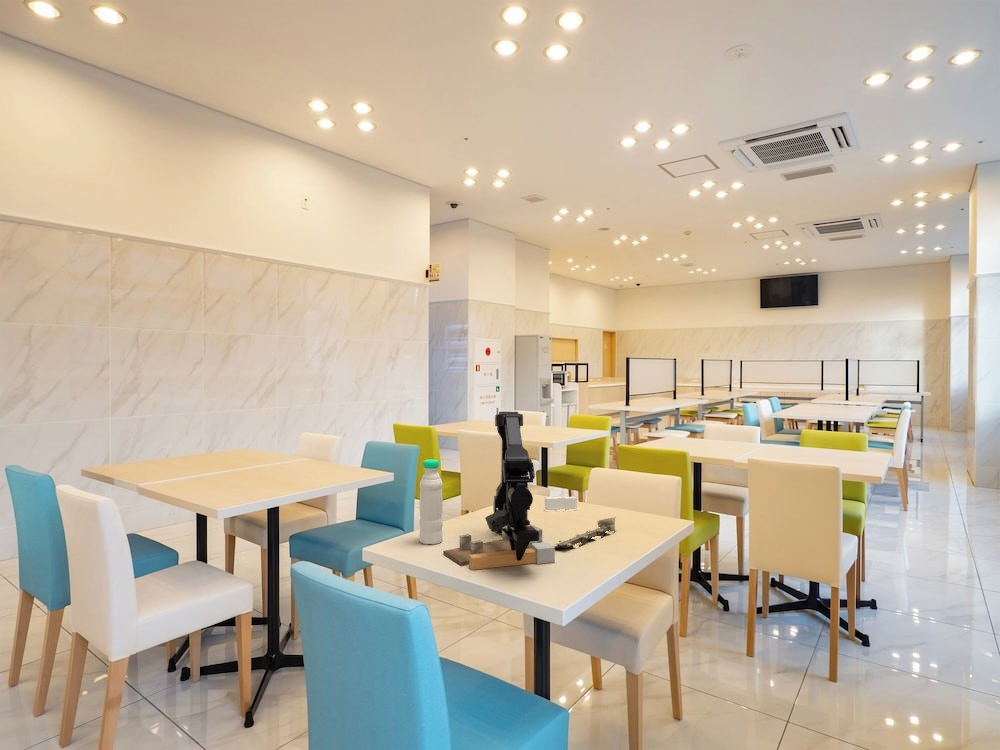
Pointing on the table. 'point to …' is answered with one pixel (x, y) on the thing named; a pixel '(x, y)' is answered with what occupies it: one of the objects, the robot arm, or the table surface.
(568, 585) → the table surface
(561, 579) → the table surface
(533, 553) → the tan bar grey block
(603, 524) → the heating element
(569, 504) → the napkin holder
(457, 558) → the cable board
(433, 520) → the water bottle
